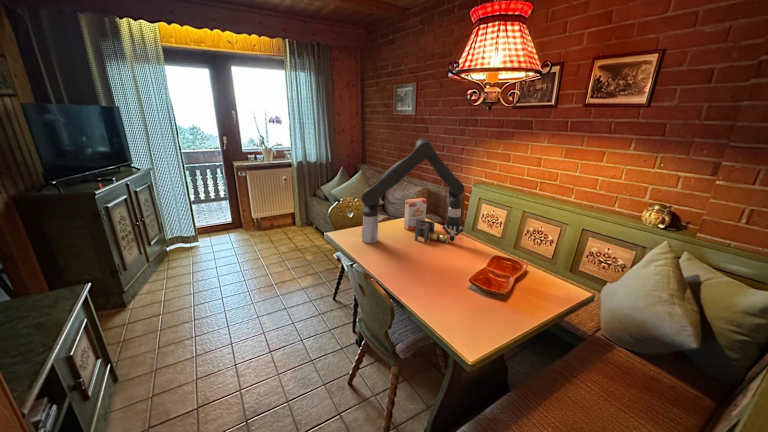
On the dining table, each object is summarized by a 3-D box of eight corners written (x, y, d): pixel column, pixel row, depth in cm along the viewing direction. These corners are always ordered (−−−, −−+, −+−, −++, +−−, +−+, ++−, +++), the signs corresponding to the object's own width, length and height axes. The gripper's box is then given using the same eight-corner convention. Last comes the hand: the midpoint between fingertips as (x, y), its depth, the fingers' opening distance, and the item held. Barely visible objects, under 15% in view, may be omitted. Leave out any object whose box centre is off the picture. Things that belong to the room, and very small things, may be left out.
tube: (428, 240, 188) (428, 234, 186) (429, 238, 192) (430, 231, 190) (447, 243, 184) (447, 237, 182) (448, 241, 188) (448, 234, 186)
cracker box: (407, 231, 203) (409, 201, 196) (403, 228, 208) (404, 199, 201) (425, 228, 209) (427, 199, 202) (420, 225, 214) (422, 197, 207)
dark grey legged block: (411, 239, 189) (412, 225, 185) (416, 233, 199) (416, 219, 196) (429, 242, 185) (431, 227, 182) (433, 236, 195) (434, 221, 192)
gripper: (442, 215, 178) (440, 241, 183) (464, 217, 173) (461, 245, 179) (444, 211, 184) (442, 237, 190) (466, 214, 180) (463, 240, 186)
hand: (451, 241), depth 184 cm, fingers closed
